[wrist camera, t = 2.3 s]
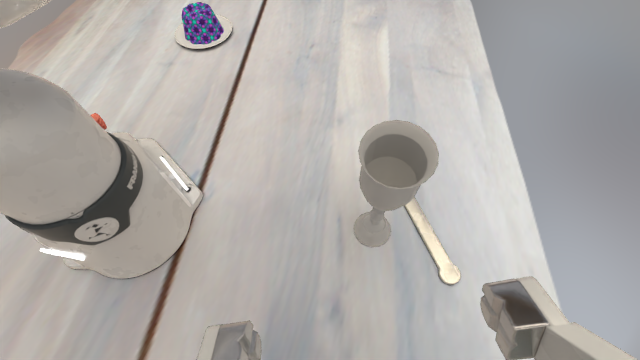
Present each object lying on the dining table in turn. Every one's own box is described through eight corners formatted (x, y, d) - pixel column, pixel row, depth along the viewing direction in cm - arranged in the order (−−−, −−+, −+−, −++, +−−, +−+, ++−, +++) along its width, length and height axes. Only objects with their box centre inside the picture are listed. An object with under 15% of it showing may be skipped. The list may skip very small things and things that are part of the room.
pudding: (170, 27, 66) (158, 3, 62) (222, 11, 69) (215, -13, 65) (184, 59, 61) (173, 34, 56) (241, 40, 64) (234, 15, 59)
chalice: (389, 263, 39) (429, 200, 24) (339, 244, 41) (347, 173, 25) (403, 214, 43) (445, 132, 27) (356, 198, 44) (372, 112, 29)
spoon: (473, 277, 38) (476, 275, 37) (434, 291, 37) (436, 290, 37) (398, 150, 48) (399, 146, 48) (367, 159, 48) (367, 156, 47)
